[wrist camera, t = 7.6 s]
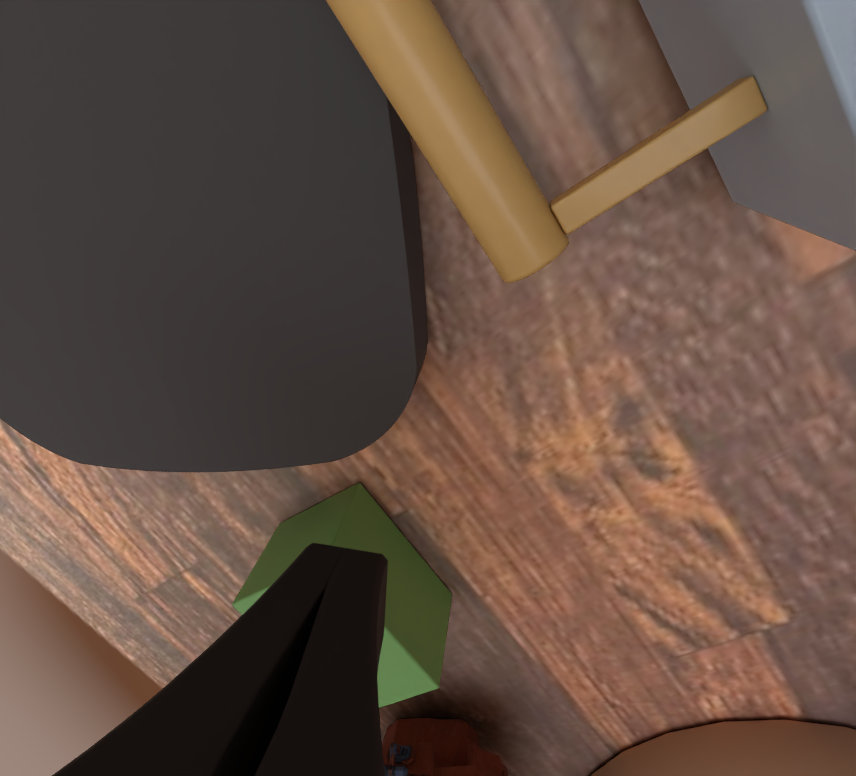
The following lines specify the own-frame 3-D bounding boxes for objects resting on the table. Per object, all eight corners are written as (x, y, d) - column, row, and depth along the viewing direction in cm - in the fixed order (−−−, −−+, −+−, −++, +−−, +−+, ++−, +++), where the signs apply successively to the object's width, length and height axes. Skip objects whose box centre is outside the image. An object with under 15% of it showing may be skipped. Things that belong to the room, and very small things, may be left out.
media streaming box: (382, -166, 12) (343, -247, 9) (443, 424, 18) (430, 477, 16) (-157, -52, 15) (-308, -89, 12) (55, 431, 21) (-13, 478, 18)
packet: (453, 594, 21) (440, 689, 18) (372, 626, 23) (345, 719, 19) (359, 480, 20) (325, 560, 16) (279, 523, 21) (230, 605, 18)
